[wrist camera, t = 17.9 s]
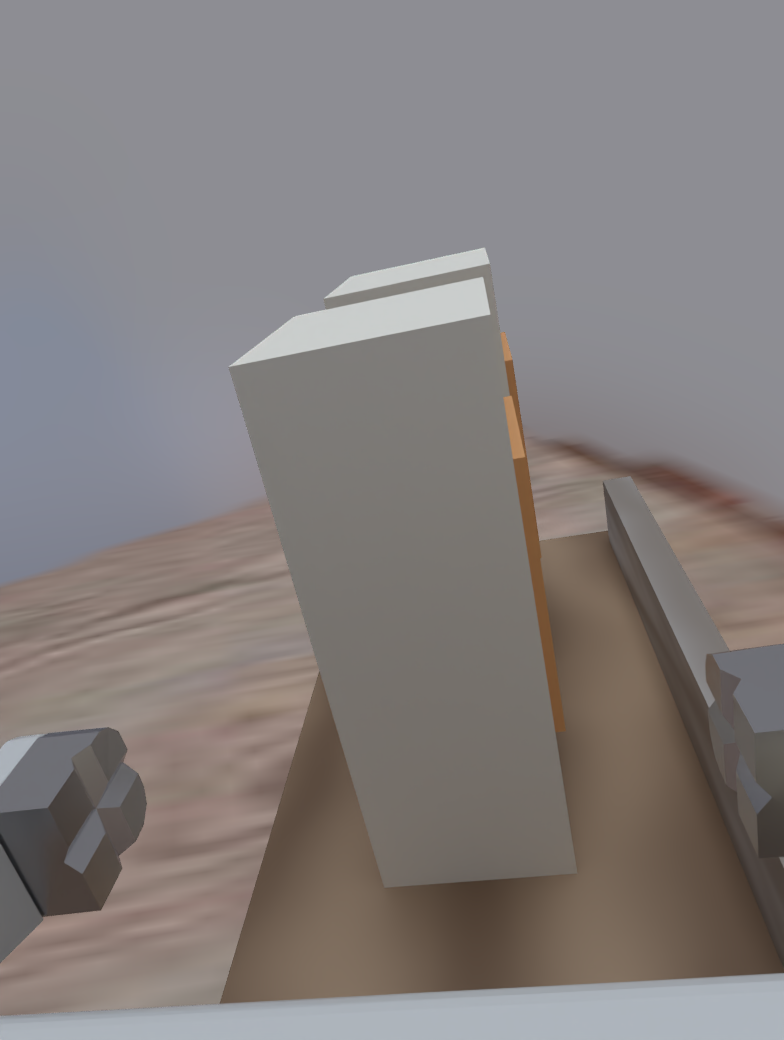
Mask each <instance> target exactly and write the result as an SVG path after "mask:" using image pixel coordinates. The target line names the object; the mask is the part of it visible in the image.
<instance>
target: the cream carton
mask: <svg viewBox="0 0 784 1040" xmlns="http://www.w3.org/2000/svg"><path fill="white" fill-rule="evenodd" d="M229 370H230V373H231V376H232V380H233V383H234V386H235V390H236V393H237V397H238V400H239V403H240V407H241V410H242V413H243V417H244V420H245V423H246V427H247V430H248V433H249V437H250V440H251V443H252V447H253V450H254V453H255V457H256V460H257V464H258V467H259V470H260V473H261V477H262V480H263V483H264V487H265V490H266V494H267V497H268V500H269V504H270V507H271V510H272V514H273V517H274V520H275V524H276V527H277V530H278V534H279V537H280V541H281V544H282V547H283V551H284V554H285V557H286V561H287V564H288V567H289V571H290V574H291V577H292V581H293V584H294V587H295V591H296V594H297V597H298V601H299V604H300V607H301V611H302V614H303V617H304V621H305V624H306V627H307V631H308V634H309V637H310V641H311V644H312V648H313V651H314V654H315V658H316V661H317V664H318V668H319V671H320V674H321V678H322V681H323V684H324V688H325V691H326V694H327V698H328V701H329V704H330V708H331V711H332V714H333V718H334V721H335V724H336V728H337V731H338V734H339V738H340V741H341V744H342V748H343V751H344V755H345V758H346V761H347V765H348V768H349V771H350V775H351V778H352V781H353V785H354V788H355V791H356V795H357V798H358V801H359V805H360V808H361V811H362V815H363V818H364V821H365V825H366V828H367V831H368V835H369V838H370V841H371V845H372V848H373V851H374V855H375V858H376V862H377V865H378V868H379V872H380V875H381V878H382V882H383V885H384V888H387V887H400V886H414V885H428V884H441V883H455V882H469V881H482V880H496V879H509V878H523V877H537V876H550V875H564V874H577V868H576V862H575V855H574V849H573V842H572V836H571V830H570V823H569V817H568V810H567V804H566V797H565V791H564V785H563V778H562V772H561V765H560V759H559V752H558V746H557V740H556V733H555V732H563V731H566V729H565V722H564V715H563V709H562V702H561V695H560V688H559V682H558V675H557V668H556V661H555V655H554V648H553V641H552V635H551V628H550V621H549V614H548V608H547V601H546V594H545V587H544V581H543V574H542V567H541V560H540V554H539V547H538V540H537V533H536V527H535V520H534V513H533V507H532V500H531V493H530V486H529V480H528V473H527V466H526V459H525V454H524V450H523V445H522V440H521V436H520V431H519V427H518V422H517V418H516V413H515V409H514V404H513V400H512V396H507V397H503V392H502V386H501V379H500V373H499V366H498V360H497V354H496V347H495V341H494V334H493V328H492V321H491V315H490V310H489V305H488V299H487V294H486V289H485V284H484V279H483V277H480V278H475V279H470V280H466V281H461V282H456V283H451V284H446V285H442V286H437V287H432V288H427V289H423V290H418V291H413V292H408V293H404V294H399V295H394V296H389V297H384V298H380V299H375V300H370V301H365V302H361V303H356V304H351V305H346V306H341V307H337V308H332V309H327V310H322V311H318V312H313V313H309V314H303V315H299V316H294V317H293V318H292V319H290V320H289V321H288V322H287V323H285V324H284V325H283V326H281V327H280V328H279V329H277V330H276V331H275V332H273V333H272V334H271V335H270V336H268V337H267V338H266V339H264V340H263V341H262V342H261V343H259V344H258V345H257V346H255V347H254V348H253V349H251V350H250V351H249V352H247V353H246V354H245V355H244V356H242V357H241V358H240V359H238V360H237V361H236V362H234V363H233V364H232V365H230V366H229Z"/></svg>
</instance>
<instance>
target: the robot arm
mask: <svg viewBox="0 0 784 1040" xmlns="http://www.w3.org/2000/svg"><path fill="white" fill-rule="evenodd" d="M705 671H706V682H707V684H708V686H709V688H710V691H711V693H712V695H713V697H714V699H715V701H714V702H713V704H712V705H711V706H710V708H709V709H708V718H709V729H710V736H711V741H712V746H713V751H714V755H715V758H716V761H717V764H718V767H719V770H720V772H721V775H722V777H723V779H724V782H725V784H726V786H728V787H730V788H731V789H733V790H734V791H736V792H737V798H738V814H739V816H740V818H741V820H742V823H743V825H744V827H745V829H746V831H747V834H748V836H749V838H750V840H751V842H752V845H753V847H754V849H755V851H756V854H757V856H758V858H773V857H784V644H778V645H771V646H763V647H756V648H748V649H741V650H733V651H725V652H718V653H710V654H707V655H706V662H705ZM126 752H127V747H126V745H125V743H124V741H123V740H122V738H121V736H120V734H119V732H118V731H116V730H114V729H111V728H109V727H106V728H96V729H86V730H76V731H66V732H56V733H48V734H38V735H30V736H22V737H17V738H14V739H12V740H9V741H7V742H6V743H5V744H4V745H3V747H2V748H1V749H0V963H1V962H2V961H3V960H4V959H5V958H6V957H7V956H8V955H9V954H10V953H11V952H12V951H13V950H14V949H15V948H16V947H17V946H18V945H19V944H20V943H21V942H22V941H23V940H24V939H25V938H26V937H27V936H28V935H29V934H30V933H31V932H32V931H33V930H34V929H35V928H36V927H37V926H38V925H39V924H40V923H41V922H42V921H43V917H45V916H54V915H63V914H72V913H81V912H90V911H99V910H101V909H102V907H103V905H104V903H105V901H106V899H107V897H108V895H109V893H110V892H111V890H112V888H113V886H114V884H115V882H116V880H117V878H118V876H119V874H120V872H121V870H122V865H121V862H120V858H119V855H120V854H122V853H123V852H124V851H125V850H126V849H127V848H129V847H130V846H131V845H132V844H133V843H135V842H136V840H137V838H138V836H139V833H140V831H141V829H142V827H143V825H144V819H145V812H146V805H147V802H146V796H145V790H144V786H143V783H142V781H141V779H140V776H139V774H138V773H137V772H135V771H134V770H133V769H131V768H130V767H129V766H127V765H126V764H124V763H123V761H124V758H125V755H126ZM0 1040H784V973H773V974H756V975H738V976H720V977H703V978H685V979H667V980H649V981H630V982H611V983H592V984H574V985H555V986H536V987H517V988H499V989H480V990H461V991H442V992H424V993H405V994H387V995H369V996H351V997H333V998H315V999H297V1000H279V1001H261V1002H243V1003H225V1004H207V1005H189V1006H171V1007H153V1008H134V1009H116V1010H98V1011H80V1012H62V1013H43V1014H25V1015H7V1016H0Z"/></svg>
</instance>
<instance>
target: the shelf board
mask: <svg viewBox="0 0 784 1040" xmlns="http://www.w3.org/2000/svg"><path fill="white" fill-rule="evenodd" d="M603 487H604V497H605V506H606V515H607V525H608V531H603V532H596V533H590V534H583V535H576V536H569V537H563V538H556V539H549V540H542V541H539V543H540V550H541V557H542V558H540V560H541V567H542V574H543V581H544V587H545V594H546V601H547V608H548V614H549V621H550V628H551V635H552V641H553V648H554V655H555V661H556V668H557V675H558V682H559V688H560V695H561V702H562V709H563V715H564V722H565V729H566V731H563V732H555V733H556V740H557V746H558V752H559V759H560V765H561V772H562V778H563V785H564V791H565V797H566V804H567V810H568V817H569V823H570V830H571V836H572V842H573V849H574V855H575V862H576V868H577V874H564V875H550V876H537V877H523V878H509V879H496V880H482V881H469V882H455V883H441V884H428V885H414V886H400V887H387V888H384V885H383V882H382V878H381V875H380V872H379V868H378V865H377V862H376V858H375V855H374V851H373V848H372V845H371V841H370V838H369V835H368V831H367V828H366V825H365V821H364V818H363V815H362V811H361V808H360V805H359V801H358V798H357V795H356V791H355V788H354V785H353V781H352V778H351V775H350V771H349V768H348V765H347V761H346V758H345V755H344V751H343V748H342V744H341V741H340V738H339V734H338V731H337V728H336V724H335V721H334V718H333V714H332V711H331V708H330V704H329V701H328V698H327V694H326V691H325V688H324V684H323V681H322V678H321V674H320V671H319V674H318V677H317V681H316V684H315V687H314V691H313V694H312V697H311V701H310V704H309V707H308V711H307V714H306V717H305V721H304V724H303V727H302V731H301V734H300V737H299V741H298V744H297V747H296V751H295V754H294V757H293V761H292V764H291V767H290V771H289V774H288V777H287V781H286V784H285V787H284V791H283V794H282V798H281V801H280V804H279V808H278V811H277V814H276V818H275V821H274V824H273V828H272V831H271V834H270V838H269V841H268V844H267V848H266V851H265V854H264V858H263V861H262V864H261V868H260V871H259V874H258V878H257V881H256V884H255V888H254V891H253V894H252V898H251V901H250V904H249V908H248V911H247V914H246V918H245V921H244V924H243V928H242V931H241V934H240V938H239V941H238V945H237V948H236V951H235V955H234V958H233V961H232V965H231V968H230V971H229V975H228V978H227V981H226V985H225V988H224V991H223V995H222V998H221V1001H220V1004H225V1003H243V1002H261V1001H279V1000H297V999H315V998H333V997H351V996H369V995H387V994H405V993H424V992H442V991H461V990H480V989H499V988H517V987H536V986H555V985H574V984H592V983H611V982H630V981H649V980H667V979H685V978H703V977H720V976H738V975H756V974H773V973H784V857H773V858H758V856H757V854H756V851H755V849H754V847H753V845H752V842H751V840H750V838H749V836H748V834H747V831H746V829H745V827H744V825H743V823H742V820H741V818H740V816H739V814H738V798H737V792H736V791H734V790H733V789H731V788H730V787H728V786H726V784H725V782H724V779H723V777H722V775H721V772H720V770H719V767H718V764H717V761H716V758H715V755H714V751H713V746H712V741H711V736H710V729H709V718H708V709H709V708H710V706H711V705H712V704H713V702H714V701H715V699H714V697H713V695H712V693H711V691H710V688H709V686H708V684H707V682H706V671H705V662H706V655H707V654H710V653H718V652H725V651H730V650H729V649H728V647H727V645H726V643H725V642H724V640H723V638H722V636H721V635H720V633H719V631H718V629H717V628H716V626H715V624H714V622H713V621H712V619H711V617H710V615H709V614H708V612H707V610H706V608H705V607H704V605H703V603H702V601H701V600H700V598H699V596H698V594H697V593H696V591H695V589H694V587H693V585H692V584H691V582H690V580H689V578H688V577H687V575H686V573H685V571H684V570H683V568H682V566H681V564H680V563H679V561H678V559H677V557H676V556H675V554H674V552H673V550H672V549H671V547H670V545H669V543H668V542H667V540H666V538H665V536H664V535H663V533H662V531H661V529H660V528H659V526H658V524H657V522H656V521H655V519H654V517H653V515H652V514H651V512H650V510H649V508H648V506H647V505H646V503H645V501H644V499H643V498H642V496H641V494H640V492H639V491H638V489H637V487H636V485H635V484H634V482H633V480H632V478H631V477H623V478H617V479H611V480H605V481H603Z"/></svg>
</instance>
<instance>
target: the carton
mask: <svg viewBox="0 0 784 1040" xmlns="http://www.w3.org/2000/svg"><path fill="white" fill-rule="evenodd" d="M480 277H483V279H484V284H485V289H486V294H487V299H488V305H489V310H490V315H491V321H492V328H493V334H494V341H495V347H496V354H497V360H498V366H499V373H500V379H501V386H502V392H503V397H507V396H512V400H513V404H514V409H515V413H516V418H517V422H518V427H519V431H520V436H521V440H522V445H523V450H524V454H525V459H526V466H527V473H528V480H529V486H530V493H531V500H532V507H533V513H534V520H535V527H536V533H537V540H538V547H539V554H540V558H542V557H541V550H540V543H539V537H538V530H537V523H536V516H535V509H534V503H533V496H532V489H531V482H530V476H529V469H528V462H527V455H526V448H525V442H524V435H523V428H522V421H521V415H520V408H519V401H518V395H517V387H516V381H515V374H514V368H513V361H512V356H511V353H510V349H509V346H508V342H507V338H506V334H505V332H502V333H500V327H499V321H498V314H497V307H496V301H495V294H494V288H493V282H492V274H491V268H490V262H489V259H488V256H487V253H486V250H485V248H481V249H476V250H471V251H467V252H462V253H458V254H453V255H448V256H444V257H440V258H434V259H430V260H426V261H421V262H416V263H411V264H407V265H402V266H398V267H394V268H388V269H384V270H379V271H374V272H370V273H365V274H361V275H356V276H352V277H350V278H349V279H347V280H346V281H345V282H344V283H343V284H341V285H340V286H339V287H338V288H337V289H335V290H334V291H333V292H331V293H330V294H329V295H328V296H327V297H325V298H324V303H325V307H326V310H327V309H332V308H337V307H341V306H346V305H351V304H356V303H361V302H365V301H370V300H375V299H380V298H384V297H389V296H394V295H399V294H404V293H408V292H413V291H418V290H423V289H427V288H432V287H437V286H442V285H446V284H451V283H456V282H461V281H466V280H470V279H475V278H480Z"/></svg>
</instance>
